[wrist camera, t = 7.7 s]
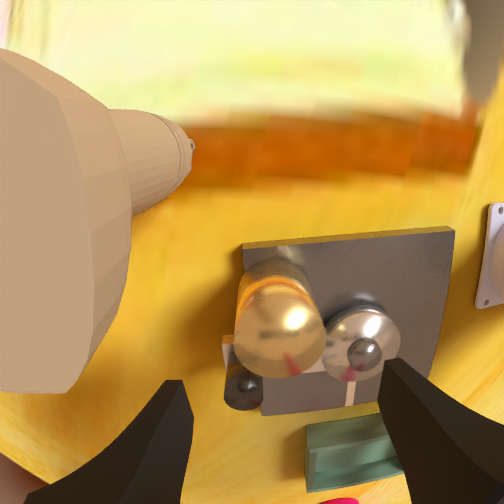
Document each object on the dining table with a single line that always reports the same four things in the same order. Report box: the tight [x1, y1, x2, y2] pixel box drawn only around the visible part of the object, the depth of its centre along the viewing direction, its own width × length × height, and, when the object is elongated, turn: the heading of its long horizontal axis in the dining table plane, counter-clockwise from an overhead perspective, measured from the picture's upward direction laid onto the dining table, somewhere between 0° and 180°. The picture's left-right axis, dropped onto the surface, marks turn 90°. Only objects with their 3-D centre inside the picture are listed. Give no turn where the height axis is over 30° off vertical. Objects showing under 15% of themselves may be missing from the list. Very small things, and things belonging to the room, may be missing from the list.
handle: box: [0, 48, 195, 394], centre depth 10 cm, size 5×6×15 cm
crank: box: [222, 305, 400, 411], centre depth 17 cm, size 11×5×4 cm, turn 94°
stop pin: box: [234, 259, 326, 378], centre depth 16 cm, size 4×4×5 cm
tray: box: [304, 413, 404, 493], centre depth 23 cm, size 10×8×3 cm
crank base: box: [242, 226, 455, 416], centre depth 20 cm, size 13×13×1 cm
